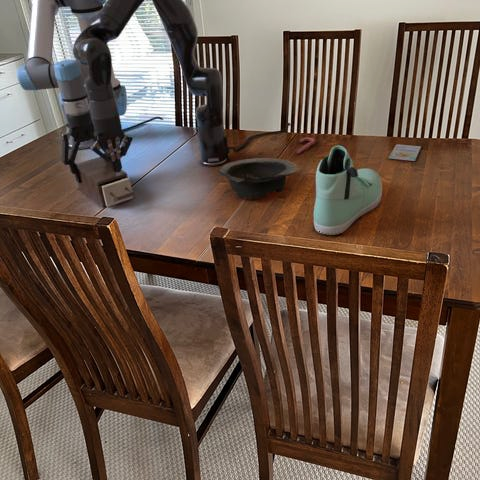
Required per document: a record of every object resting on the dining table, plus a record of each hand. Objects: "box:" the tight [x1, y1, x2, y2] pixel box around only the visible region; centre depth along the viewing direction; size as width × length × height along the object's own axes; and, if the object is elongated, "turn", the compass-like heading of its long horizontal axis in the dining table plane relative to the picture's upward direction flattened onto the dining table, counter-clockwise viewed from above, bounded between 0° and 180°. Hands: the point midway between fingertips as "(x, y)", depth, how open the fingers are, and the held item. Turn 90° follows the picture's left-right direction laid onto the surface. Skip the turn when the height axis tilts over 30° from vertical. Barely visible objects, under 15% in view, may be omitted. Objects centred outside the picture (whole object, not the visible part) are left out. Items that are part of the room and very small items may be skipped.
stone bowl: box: [217, 157, 299, 201], centre depth 152 cm, size 25×25×9 cm
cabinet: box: [76, 156, 129, 208], centre depth 158 cm, size 20×10×8 cm, turn 37°
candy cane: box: [295, 136, 316, 155], centre depth 183 cm, size 6×15×2 cm, turn 145°
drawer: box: [100, 177, 136, 208], centre depth 154 cm, size 25×9×7 cm, turn 37°
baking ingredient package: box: [388, 143, 422, 162], centre depth 171 cm, size 9×1×15 cm
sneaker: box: [313, 145, 383, 236], centre depth 133 cm, size 14×35×20 cm, turn 152°
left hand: (94, 176), depth 164 cm, fingers closed on cabinet, 10 cm apart
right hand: (117, 171), depth 143 cm, fingers closed
